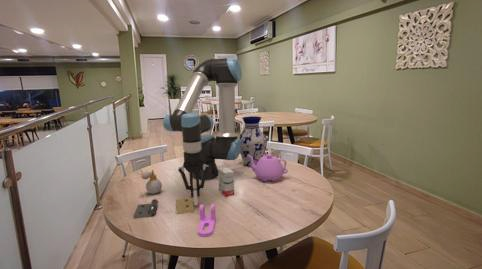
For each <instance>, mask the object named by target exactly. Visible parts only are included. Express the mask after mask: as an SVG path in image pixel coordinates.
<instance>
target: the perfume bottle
mask: <svg viewBox="0 0 482 269" xmlns="http://www.w3.org/2000/svg"><path fill="white" fill-rule="evenodd" d="M141 178H142V179H143V180H148V179H149V180H148V181H147V182H146V184H145V190H146V192H148V194H153V195H155V194H158V193H160V191H161V190H162V188H163V184H162V181H161V180H160V179H159V178H157V175H156V174H155V172H154V170H153V169H152V170H151V172H150V171H144V172H142V173H141Z"/></svg>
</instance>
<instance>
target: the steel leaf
mask: <svg viewBox="0 0 482 269" xmlns="http://www.w3.org/2000/svg"><path fill="white" fill-rule="evenodd" d="M158 205H159V200H158V199H152V200H151V203H144V204H143V203H142V204H138V205H137V207H136V209H135V212H134V213H133V216H132V217H133V219H140V218H141V219H142V218H151V217H153V216H155V214H156V211H157V208H158Z"/></svg>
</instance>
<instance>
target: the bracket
mask: <svg viewBox="0 0 482 269" xmlns="http://www.w3.org/2000/svg"><path fill="white" fill-rule="evenodd" d="M205 208H206V206H205V204H203V203H202V204H200V205H199V224H198V226H197V235H198V237H201V238H208V237H211V236H212V235H213V234H214V231H215V225H216V219H217V217H216V215H217V214H216V213H217V212H216V203H211V204H210V215H206V210H205ZM205 227H208V228H207V230H204V229H205Z"/></svg>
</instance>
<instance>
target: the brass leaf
mask: <svg viewBox="0 0 482 269" xmlns="http://www.w3.org/2000/svg"><path fill="white" fill-rule="evenodd" d="M194 206H195V205H194V201H193V197H192V198H191V197H188V198H187V197H186V198H181V199H179V198H178V199H175V207H176V215H183V214H190V213H194V212H195V208H194Z"/></svg>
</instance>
